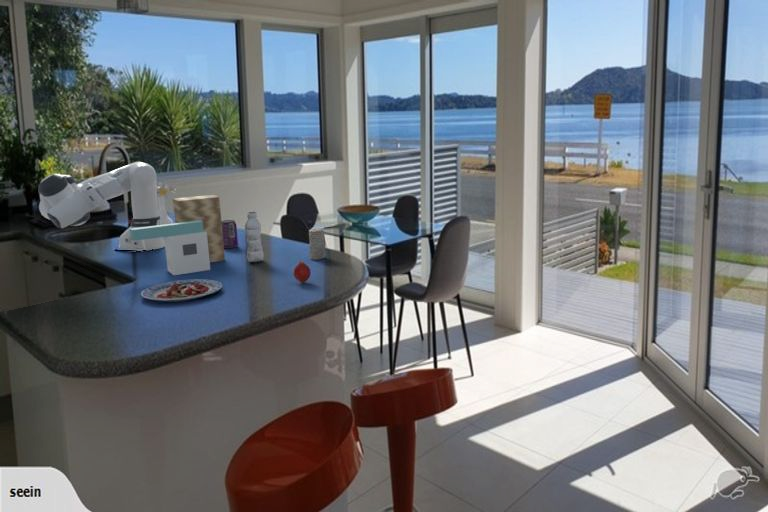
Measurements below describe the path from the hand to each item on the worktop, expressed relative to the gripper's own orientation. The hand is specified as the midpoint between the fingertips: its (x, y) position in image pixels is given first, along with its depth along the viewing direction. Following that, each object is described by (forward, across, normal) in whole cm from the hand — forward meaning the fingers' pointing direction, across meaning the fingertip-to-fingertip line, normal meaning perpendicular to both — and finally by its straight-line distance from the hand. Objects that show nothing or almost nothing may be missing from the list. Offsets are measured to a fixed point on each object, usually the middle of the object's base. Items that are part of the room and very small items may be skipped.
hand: (124, 173), depth 243 cm
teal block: (-2, +6, -27) cm, 27 cm away
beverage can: (+20, -29, -56) cm, 66 cm away
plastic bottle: (+19, +9, -56) cm, 59 cm away
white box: (-4, +6, -42) cm, 43 cm away
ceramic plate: (-14, +40, -37) cm, 57 cm away
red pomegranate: (+20, +53, -56) cm, 79 cm away
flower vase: (+9, -102, -50) cm, 114 cm away
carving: (+38, +20, -67) cm, 79 cm away
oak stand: (+4, -8, -47) cm, 48 cm away
